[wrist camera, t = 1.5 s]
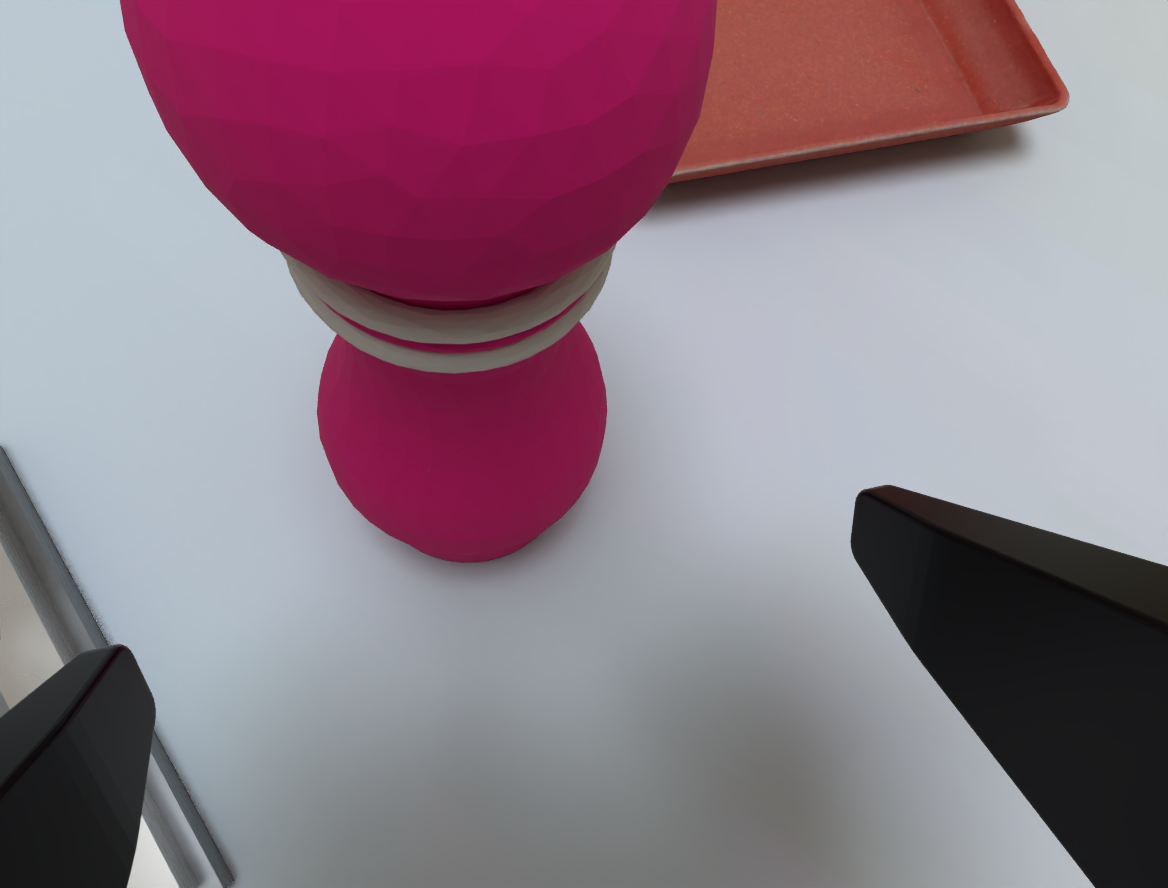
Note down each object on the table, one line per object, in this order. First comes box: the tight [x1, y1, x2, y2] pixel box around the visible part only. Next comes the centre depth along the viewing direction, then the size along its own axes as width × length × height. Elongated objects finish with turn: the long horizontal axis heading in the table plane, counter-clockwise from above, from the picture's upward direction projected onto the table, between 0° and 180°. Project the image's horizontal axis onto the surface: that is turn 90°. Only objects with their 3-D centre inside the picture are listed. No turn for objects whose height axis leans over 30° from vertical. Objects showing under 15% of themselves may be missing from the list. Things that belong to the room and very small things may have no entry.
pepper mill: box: [120, 0, 717, 562], centre depth 13 cm, size 7×7×20 cm
